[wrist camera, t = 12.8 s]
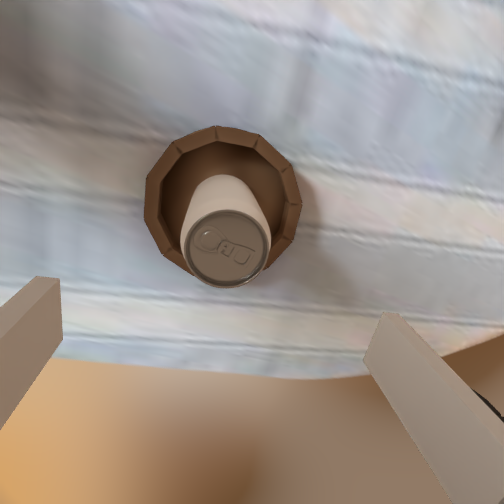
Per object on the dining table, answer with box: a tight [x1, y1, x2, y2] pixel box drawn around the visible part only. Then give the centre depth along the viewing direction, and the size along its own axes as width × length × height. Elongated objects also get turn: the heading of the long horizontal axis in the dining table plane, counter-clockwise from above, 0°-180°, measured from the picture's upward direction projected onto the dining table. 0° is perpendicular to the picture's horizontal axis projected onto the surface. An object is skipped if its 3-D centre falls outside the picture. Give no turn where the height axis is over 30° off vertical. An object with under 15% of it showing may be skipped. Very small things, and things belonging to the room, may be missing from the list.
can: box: [180, 175, 271, 288], centre depth 25 cm, size 6×6×12 cm
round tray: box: [144, 125, 302, 277], centre depth 30 cm, size 15×15×3 cm
